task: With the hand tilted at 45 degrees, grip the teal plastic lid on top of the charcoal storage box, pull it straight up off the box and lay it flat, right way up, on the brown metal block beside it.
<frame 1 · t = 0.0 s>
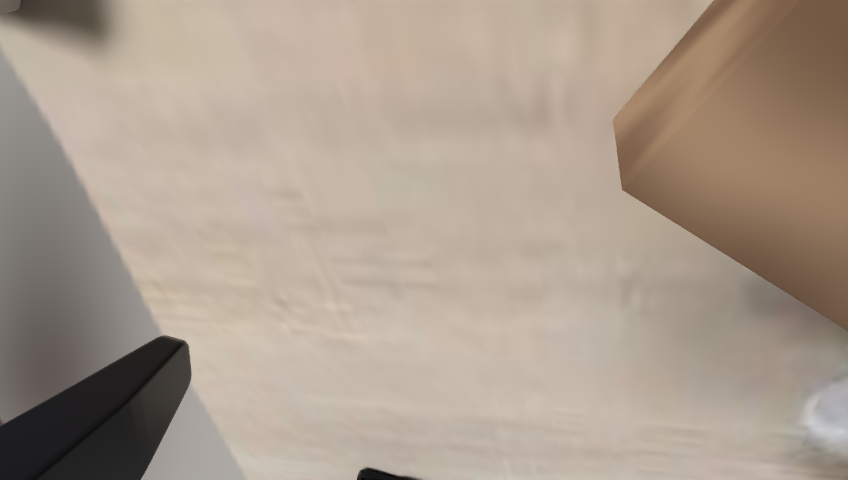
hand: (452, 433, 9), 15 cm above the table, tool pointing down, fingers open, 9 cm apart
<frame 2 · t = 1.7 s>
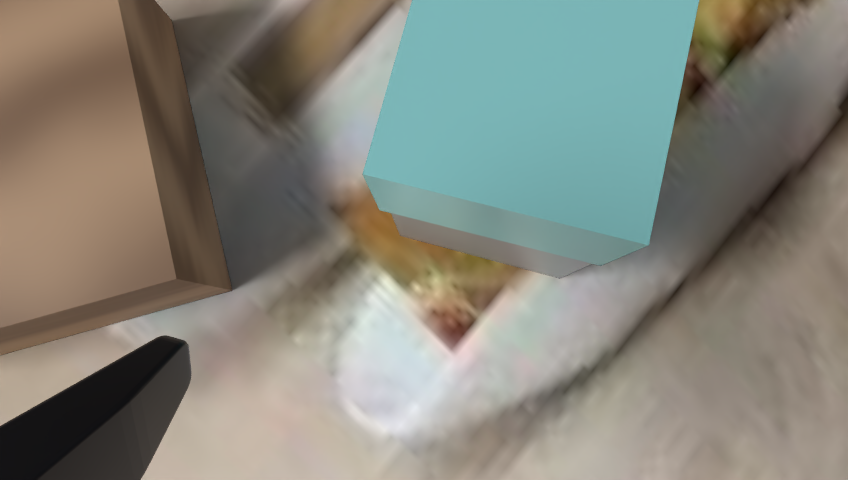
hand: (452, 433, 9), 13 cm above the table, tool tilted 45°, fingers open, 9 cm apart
storage box: (499, 180, 24), on the table
lid: (514, 132, 18), point 6 cm above the table
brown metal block: (58, 188, 24), on the table
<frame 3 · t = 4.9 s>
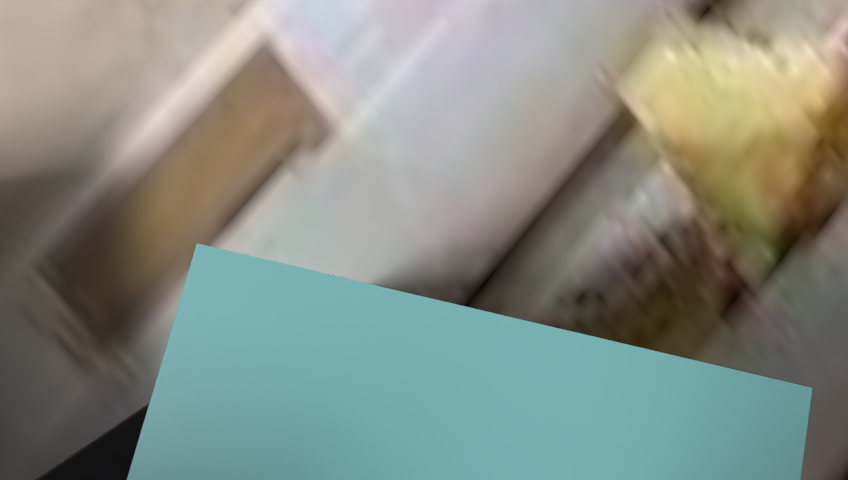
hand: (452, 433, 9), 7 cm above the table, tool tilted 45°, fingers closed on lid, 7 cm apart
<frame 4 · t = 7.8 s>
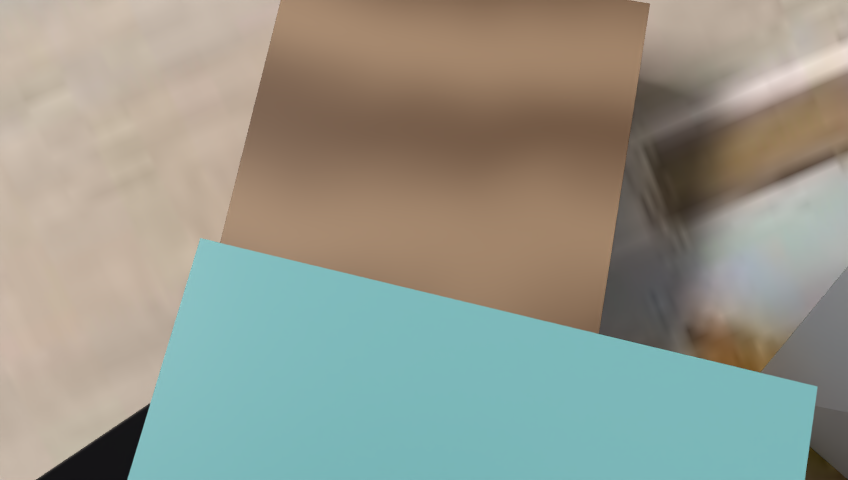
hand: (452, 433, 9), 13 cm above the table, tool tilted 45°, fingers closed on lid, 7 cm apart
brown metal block: (435, 183, 24), on the table
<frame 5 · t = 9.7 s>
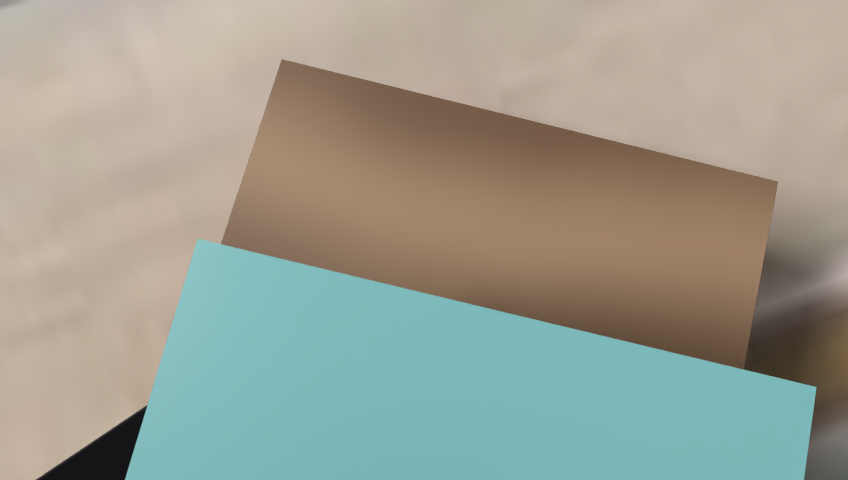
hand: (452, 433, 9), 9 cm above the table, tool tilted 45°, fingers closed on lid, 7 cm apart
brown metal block: (453, 360, 18), on the table
when the fingers open (7 cm above the table, at t = 11.2 s): lid drops 1 cm, resting on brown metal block.
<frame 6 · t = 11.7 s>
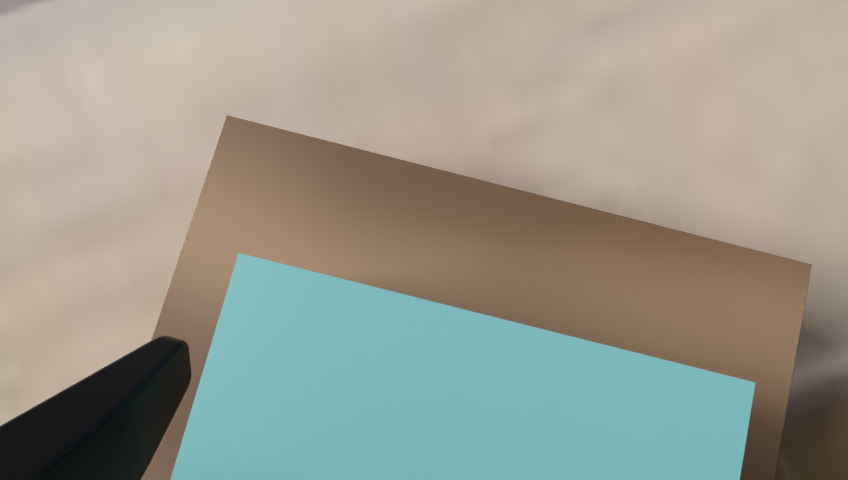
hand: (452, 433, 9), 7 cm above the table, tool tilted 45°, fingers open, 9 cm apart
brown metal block: (434, 443, 16), on the table
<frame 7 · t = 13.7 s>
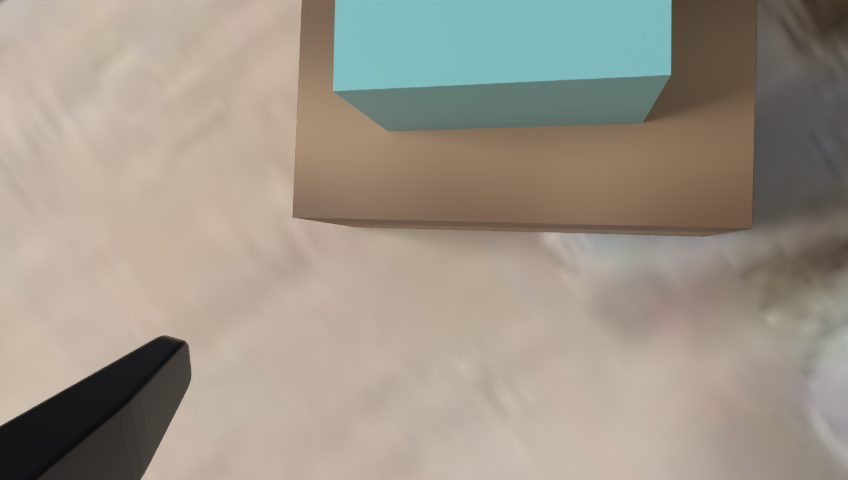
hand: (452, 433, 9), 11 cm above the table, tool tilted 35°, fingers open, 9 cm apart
lid: (510, 2, 16), point 5 cm above the table, touching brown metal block
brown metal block: (522, 59, 21), on the table
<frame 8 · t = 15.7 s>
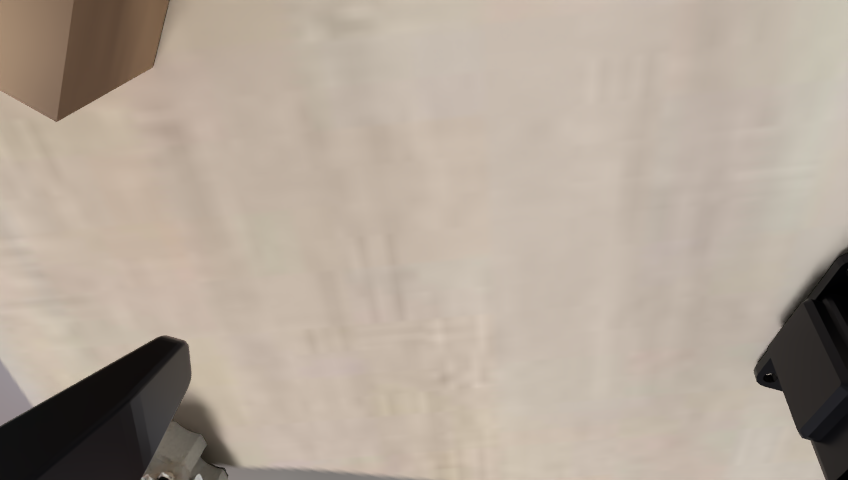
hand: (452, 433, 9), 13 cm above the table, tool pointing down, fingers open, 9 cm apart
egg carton: (153, 450, 38), on the table
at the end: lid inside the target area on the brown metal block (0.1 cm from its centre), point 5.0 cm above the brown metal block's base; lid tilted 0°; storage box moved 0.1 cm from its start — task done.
